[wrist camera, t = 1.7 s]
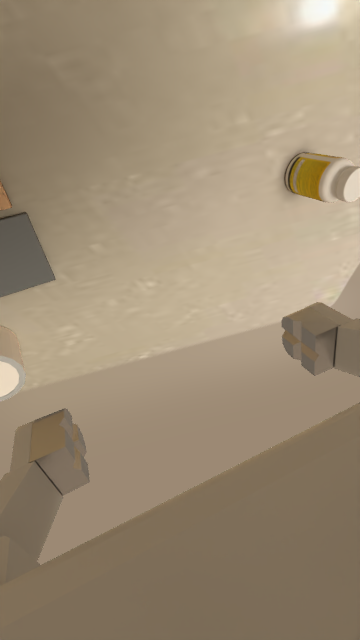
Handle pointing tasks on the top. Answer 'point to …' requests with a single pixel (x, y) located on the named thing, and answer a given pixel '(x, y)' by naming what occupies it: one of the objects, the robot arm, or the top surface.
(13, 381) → the white cylinder
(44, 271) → the mat
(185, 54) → the top surface
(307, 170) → the supplement bottle
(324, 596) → the robot arm
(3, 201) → the drum on wooden base
